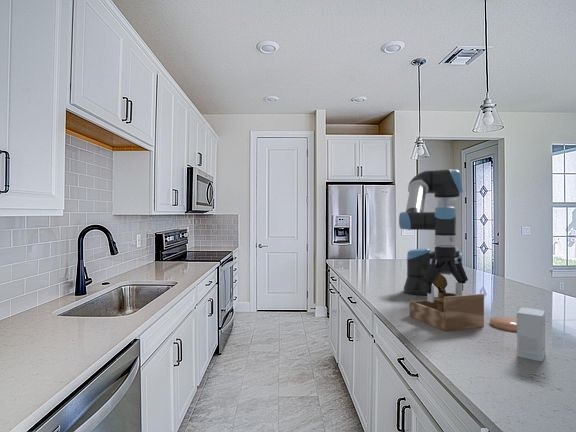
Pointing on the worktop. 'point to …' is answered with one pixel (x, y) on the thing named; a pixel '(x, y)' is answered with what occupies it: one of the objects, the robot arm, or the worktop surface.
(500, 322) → the peach round disc
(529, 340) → the small box
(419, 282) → the robot arm
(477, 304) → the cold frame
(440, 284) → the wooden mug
